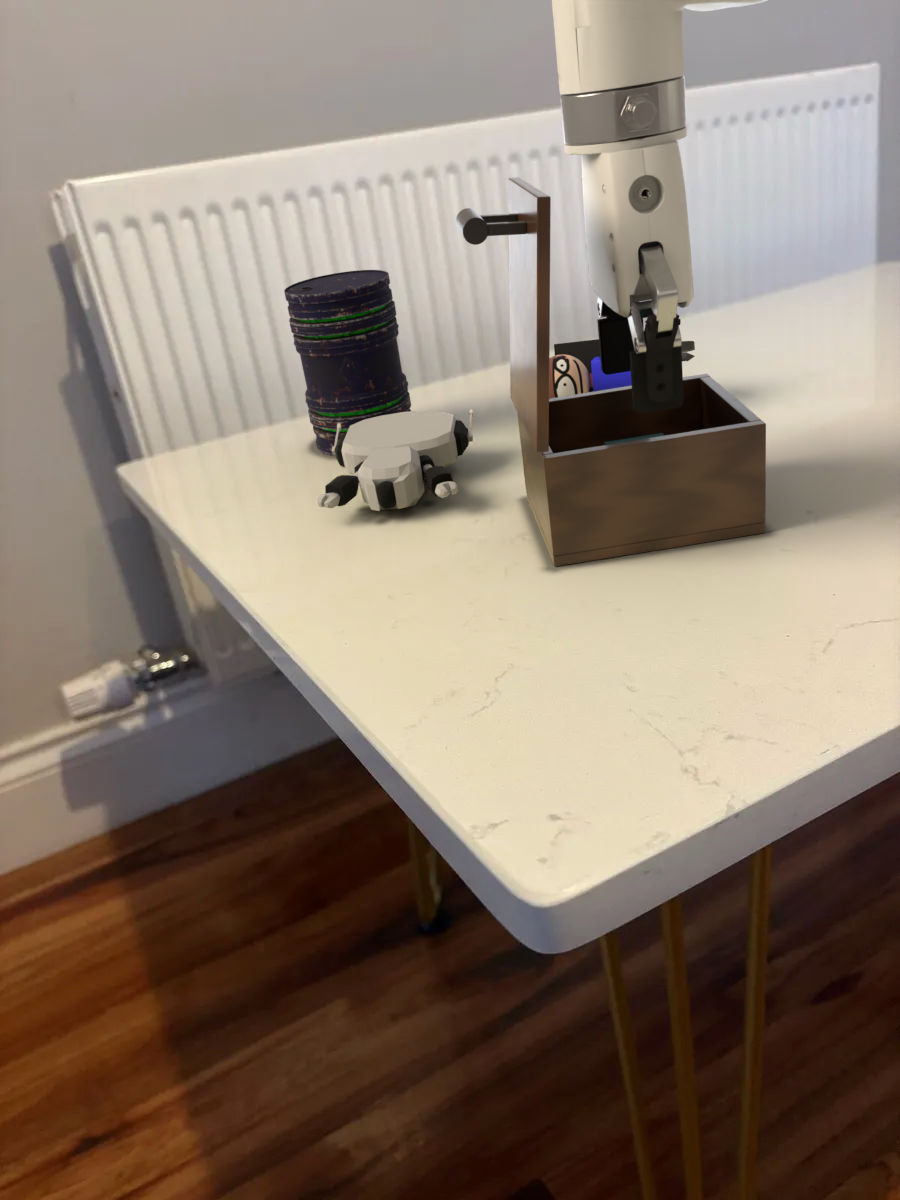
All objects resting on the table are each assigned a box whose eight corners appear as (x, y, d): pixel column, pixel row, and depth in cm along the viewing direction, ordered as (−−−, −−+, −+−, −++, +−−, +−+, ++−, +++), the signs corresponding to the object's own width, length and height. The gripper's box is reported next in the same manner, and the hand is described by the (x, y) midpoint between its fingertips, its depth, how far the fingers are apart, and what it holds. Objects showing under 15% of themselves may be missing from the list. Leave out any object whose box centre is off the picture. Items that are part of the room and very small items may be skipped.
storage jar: (400, 414, 105) (376, 264, 98) (428, 440, 97) (403, 278, 90) (306, 436, 103) (274, 285, 96) (326, 464, 95) (292, 301, 88)
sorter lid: (519, 177, 70) (449, 180, 70) (550, 196, 59) (467, 200, 59) (520, 397, 77) (457, 401, 77) (548, 452, 66) (474, 456, 66)
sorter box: (709, 469, 81) (706, 373, 77) (765, 532, 70) (766, 423, 66) (526, 499, 81) (516, 403, 77) (554, 567, 70) (543, 459, 66)
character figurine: (705, 421, 92) (539, 438, 94) (697, 391, 98) (541, 407, 101) (703, 336, 88) (529, 356, 90) (695, 310, 94) (532, 329, 96)
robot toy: (468, 525, 80) (479, 446, 92) (460, 473, 77) (472, 399, 90) (316, 539, 82) (347, 459, 94) (303, 488, 79) (337, 413, 92)
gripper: (728, 114, 56) (734, 417, 63) (648, 105, 71) (660, 350, 79) (592, 136, 55) (614, 437, 63) (541, 123, 71) (564, 366, 79)
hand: (640, 388), depth 71 cm, fingers open, 9 cm apart
